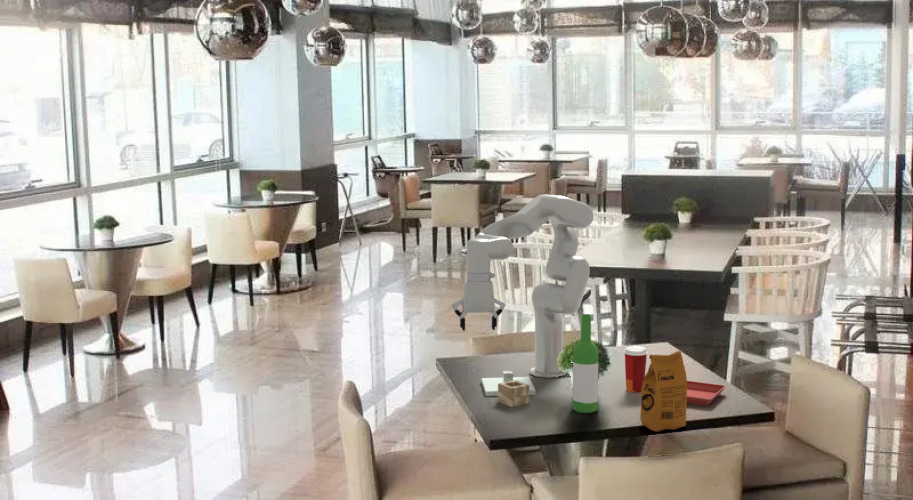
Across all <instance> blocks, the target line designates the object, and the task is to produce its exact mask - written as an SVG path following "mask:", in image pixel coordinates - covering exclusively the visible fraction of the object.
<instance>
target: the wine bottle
mask: <svg viewBox="0 0 913 500" xmlns="http://www.w3.org/2000/svg"><path fill="white" fill-rule="evenodd" d="M580 323H581V324H580V326H581V327H580V329H581V330H580V341H578V342H577V343H576V345H574V348H573V352H572V356H573V357H572V363H573V368H572V409H573V411H575V412H576V413H580V414H591V413H595V412H596V411H597V410H598V409H599V408H598V406H599V403H598V402H599V349H598V347H597V345H596V344H595V343H594V342H593V341H592V315H591V314H590V313H589V314H588V313H584V314H583V313H582V314H581V321H580Z"/></svg>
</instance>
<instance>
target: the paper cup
mask: <svg viewBox="0 0 913 500" xmlns="http://www.w3.org/2000/svg"><path fill="white" fill-rule="evenodd" d="M623 353H624V367H625V369H624V370H625V387H626V388H625V389H626V391H627V392H629V393H634V394H635V393H636V394H637V393H639V394H641V389H642V383H643V381H644V378H645V375H646V368H647V355H648V351H647V348H646V347H644V346H638V345H634V346H627V347H625V348H624V351H623Z"/></svg>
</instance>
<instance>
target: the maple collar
mask: <svg viewBox="0 0 913 500" xmlns="http://www.w3.org/2000/svg"><path fill="white" fill-rule="evenodd" d="M497 402H498V403H499V404H502V405H505V406H507V407H510V408H514V407H519V406H523V405H527V404H530V395H529V385H528V384H525V383H523V382H520V381H517V380H513V381H508V382H503V383H498V396H497Z"/></svg>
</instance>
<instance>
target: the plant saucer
mask: <svg viewBox="0 0 913 500" xmlns="http://www.w3.org/2000/svg"><path fill="white" fill-rule="evenodd" d="M725 388H726V385H723V384H715V383H707V382H699V381H693V380H691V381H690V380H687V403H689V404H688V405H693V404H695V405H694V406H703V407H707V406H708V405H709V404H710V403H712V402H713V401H714V400H715V399H716V398H717V397H718V396H720V394H721V393H722V392H723V391H724V390H725Z"/></svg>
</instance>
